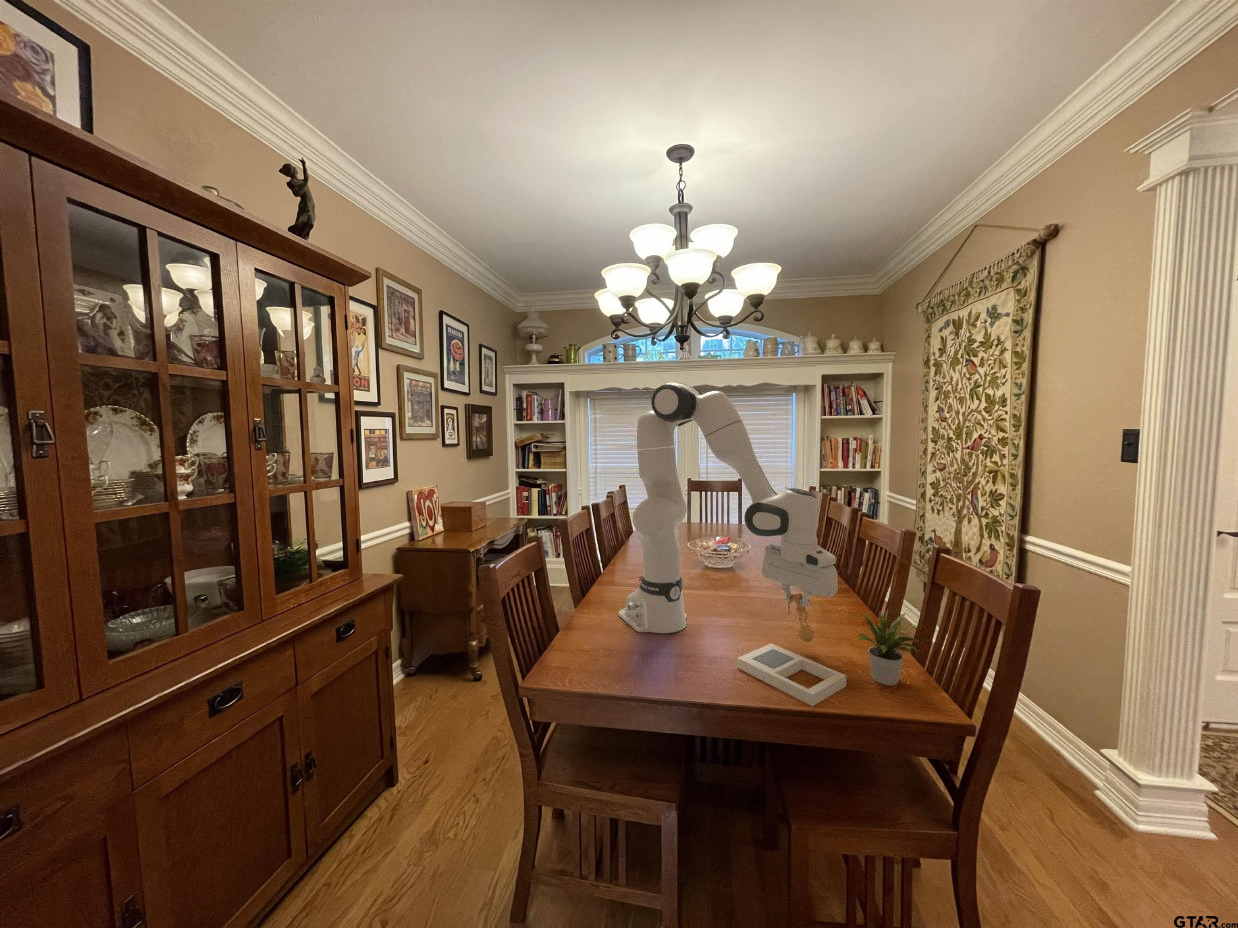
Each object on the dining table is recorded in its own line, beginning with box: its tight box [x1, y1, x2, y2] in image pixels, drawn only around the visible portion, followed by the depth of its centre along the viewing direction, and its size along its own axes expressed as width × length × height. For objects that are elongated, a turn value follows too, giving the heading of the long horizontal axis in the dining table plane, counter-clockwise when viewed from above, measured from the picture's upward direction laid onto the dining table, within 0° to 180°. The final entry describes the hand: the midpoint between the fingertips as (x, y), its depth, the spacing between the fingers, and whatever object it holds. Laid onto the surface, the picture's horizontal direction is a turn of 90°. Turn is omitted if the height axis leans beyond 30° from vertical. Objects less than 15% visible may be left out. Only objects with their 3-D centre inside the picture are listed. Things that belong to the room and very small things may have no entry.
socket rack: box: [736, 643, 847, 707], centre depth 109 cm, size 20×13×3 cm, turn 35°
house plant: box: [846, 609, 922, 686], centre depth 106 cm, size 14×14×16 cm
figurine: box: [787, 593, 816, 643], centre depth 121 cm, size 8×6×12 cm
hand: (796, 603), depth 122 cm, fingers closed on figurine, 3 cm apart
